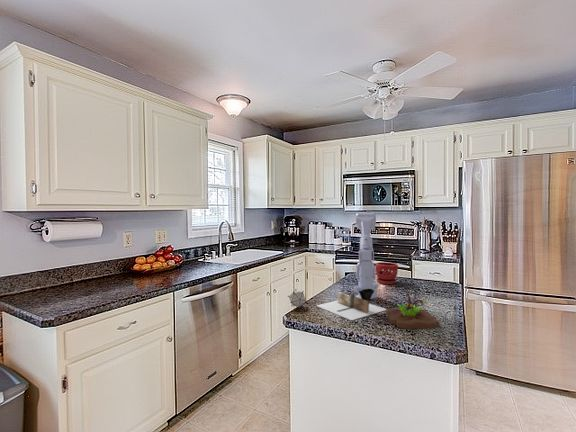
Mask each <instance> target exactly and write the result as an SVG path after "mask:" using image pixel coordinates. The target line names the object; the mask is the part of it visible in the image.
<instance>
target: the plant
mask: <svg viewBox="0 0 576 432" xmlns="http://www.w3.org/2000/svg"><path fill="white" fill-rule="evenodd" d="M404 296H405V297H407V303H406V304H405V303H402V305H400V304H399V303H397V304H396V305H397V307H394V308H392V307H391V308H385V309H386V311H385V316H386V322H389V325H395V326H396V327H397V328H400V329H405V330H406V329H407V330H408V329H409V330H412V329H428V330H431V329H434V328H436V327H439V320H437V317H436V316H435V315H433V314H431V313H430V312H428V311H427V310H424V309H422V308H423V306H422V305H425V301H423V300H422V299H417V300H415V301H414V302H413V300H411V297H410V293H409V292H405V295H404ZM418 302H420V304H421V306H416V305H415V304H417V303H418Z"/></svg>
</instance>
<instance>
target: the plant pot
mask: <svg viewBox="0 0 576 432" xmlns="http://www.w3.org/2000/svg"><path fill="white" fill-rule="evenodd" d="M398 269H399V266H398V263H394V262H385V261H384V262H383V261H381V262H376V263H375V273H376V277H377V278H376V282H377V283H378V284H383V285H393V284H396V283H397V280H396V278H397V275H398Z"/></svg>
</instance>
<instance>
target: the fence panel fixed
mask: <svg viewBox="0 0 576 432" xmlns="http://www.w3.org/2000/svg"><path fill="white" fill-rule="evenodd" d="M354 297H355V292H353V293H350V295H349V294H345V293H344V292H339V291H338V292H337V300H338V303H340V304H343V305H346V306H349V307H351V308H354Z"/></svg>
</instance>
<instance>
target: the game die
mask: <svg viewBox="0 0 576 432" xmlns="http://www.w3.org/2000/svg"><path fill="white" fill-rule="evenodd" d="M304 293H305V292H304V290H302V291H299V290H297V288H295V289H294V291H292V293H291V294H290V295H287V297H288V298H289V300H290V304H291V307H297V308H298V310H300V309H301V306H303V304H305V303H307V302H309V301H308V300H306V299H307V298H306V297H305V294H304Z"/></svg>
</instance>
